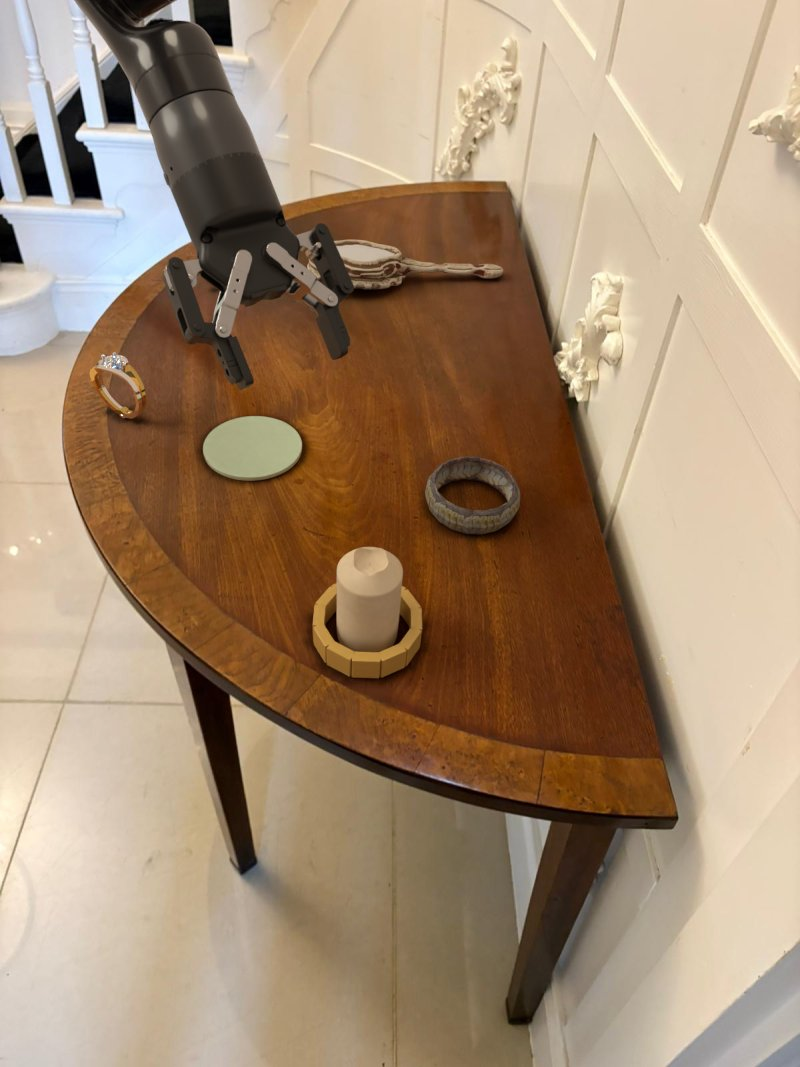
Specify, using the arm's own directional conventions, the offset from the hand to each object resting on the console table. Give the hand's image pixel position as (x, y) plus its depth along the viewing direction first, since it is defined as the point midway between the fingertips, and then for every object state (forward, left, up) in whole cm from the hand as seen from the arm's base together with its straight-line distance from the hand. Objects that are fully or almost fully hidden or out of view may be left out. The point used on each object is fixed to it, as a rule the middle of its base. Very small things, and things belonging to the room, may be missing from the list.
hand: (295, 371), depth 63 cm
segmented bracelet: (+1, -12, -21) cm, 24 cm away
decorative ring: (+19, -2, -21) cm, 29 cm away
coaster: (+2, +17, -21) cm, 28 cm away
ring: (-9, +29, -21) cm, 37 cm away
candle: (+1, -12, -21) cm, 24 cm away
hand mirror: (+38, +44, -21) cm, 62 cm away
